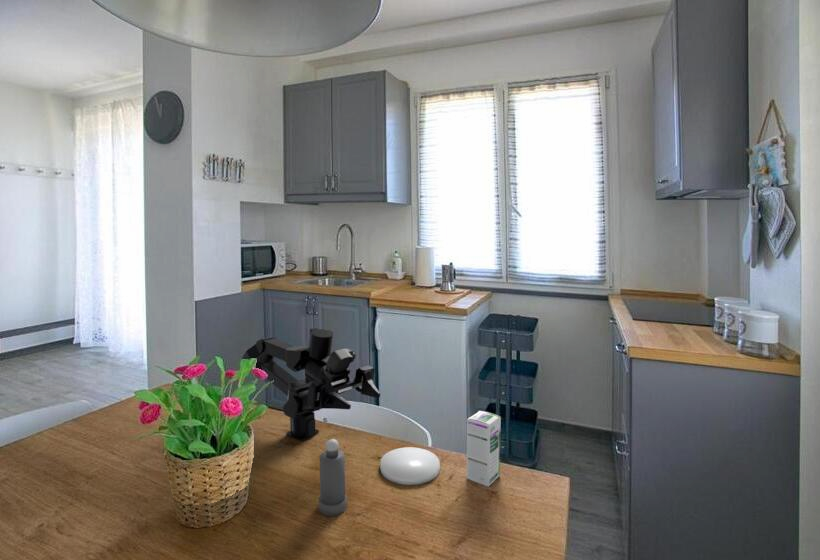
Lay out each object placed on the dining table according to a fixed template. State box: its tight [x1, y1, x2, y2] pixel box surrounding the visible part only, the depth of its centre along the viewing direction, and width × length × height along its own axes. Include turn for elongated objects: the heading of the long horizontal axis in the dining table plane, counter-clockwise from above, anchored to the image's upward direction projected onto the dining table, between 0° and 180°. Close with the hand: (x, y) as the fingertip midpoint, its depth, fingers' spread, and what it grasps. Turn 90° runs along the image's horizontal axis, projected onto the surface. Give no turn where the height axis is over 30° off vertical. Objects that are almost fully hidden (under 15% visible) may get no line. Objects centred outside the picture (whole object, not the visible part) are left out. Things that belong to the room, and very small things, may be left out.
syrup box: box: [466, 410, 502, 487], centre depth 98 cm, size 6×6×14 cm
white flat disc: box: [379, 446, 441, 486], centre depth 103 cm, size 14×14×2 cm
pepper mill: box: [318, 438, 348, 517], centre depth 87 cm, size 6×6×14 cm
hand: (365, 401), depth 101 cm, fingers open, 9 cm apart
